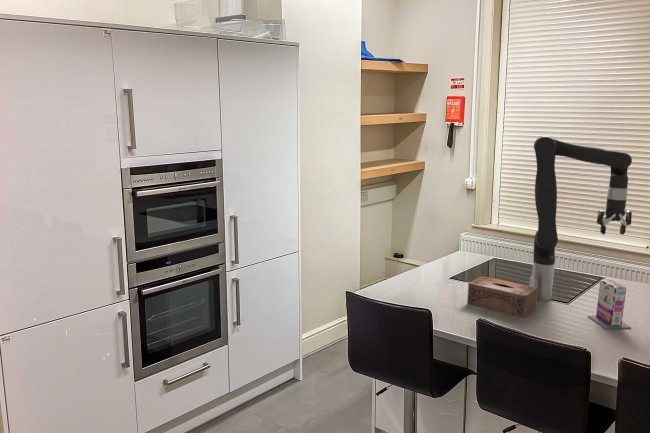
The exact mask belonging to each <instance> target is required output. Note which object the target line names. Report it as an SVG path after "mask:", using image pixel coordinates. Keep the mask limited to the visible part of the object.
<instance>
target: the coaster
mask: <svg viewBox="0 0 650 433" xmlns="http://www.w3.org/2000/svg"><path fill="white" fill-rule="evenodd" d="M587 318H589V319H590V320H592V321H593V322H594V323H596V324H597V325H598V326H600V327H601V328H602V329H604V330H631V329H632V326H629V325H628V324H627V323H625V322H624V321H622V325H621V326H610V325H608V324H607V323H605V322H604V321H602V320H601V319H599V318H598V317H596V315H587Z"/></svg>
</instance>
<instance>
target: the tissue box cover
mask: <svg viewBox="0 0 650 433" xmlns="http://www.w3.org/2000/svg"><path fill="white" fill-rule="evenodd" d="M467 285H468V286H467V302H466V305H470V306H474V307H478V308H482V309H486V310H491V311H494V312H498V313H501V314H502V313H503V314H506V315H511V316H515V317H517V318H518V317H519V318H522V319H525V318H526V317H528V315H530V314H532V313H533V312H534V311H536V309H537V303H538V302H537V301H538V300H537V291H538V288H535V287H531V286H529V285H525V284H521V283H515V282H511V281H508V280H507V281H506V280H504V279H503V280H502V279H498V278H492V277H487V276H484V275H483V276H480V277H478V278H476V279H474V280H472V281H471V282H468V284H467Z"/></svg>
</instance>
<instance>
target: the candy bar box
mask: <svg viewBox="0 0 650 433" xmlns="http://www.w3.org/2000/svg"><path fill="white" fill-rule="evenodd" d="M626 292H627V287H625V286H623V285H621V284H619V283H617V282H616V281H614V280H611V279H600V281H599V288H598V299H597V306H596V314H595V316H596V317H598V318H599V319H601V320H602V321H604V322H605V323H607V324H608V325H610V326H621V325H622V322H623V315H624V308H625V303H626V302H625V300H626V299H625V298H626Z"/></svg>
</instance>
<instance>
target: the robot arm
mask: <svg viewBox="0 0 650 433" xmlns="http://www.w3.org/2000/svg"><path fill="white" fill-rule="evenodd" d="M533 150H534V153H535V161H536V175H535V182H534V200H535V201H534V202H535V209H536V213H537V221H538V223H537V226H538V228H537V231H536V232H535V234H534V241H533V261H532V262H533V263H532V273H531V276H529V285H528V286H531V287H535V288H538V291H537V301H540V302H548V301H551V300H552V293H553V286H554V284H553V283H554V276H555V275H554V274H555V273H554V272H555V262H556V254H555V252H556V246H557V245H558V242H559V236H558V232H557V222H556V221H557V219H556V218H557V208H558V207H557V205H558V188H557V186H558V185H557V176H556V170H555V169H556V167H555V166H556V156H557V157H565V158H570V159H573V160H577V161H581V162H583V163H584V162H585V163H588V164H589V163H590V164H594V165H595V164H596V165H603V166H607V167H610V178H609V184H608V189H607V196H606V203H605V205H606V206H605V208H606V209H605V211H604V210H598V212H597V218H596V224H597V225H600V229H599V232H600V233H601V234H602V235H606V231H607V230H606V229H607V225H608V224H609V223H610V222H619V223H620V227H619V228H620V229H619V234H620V235H625V233H626V231H627V230H626V229H627V226H630V225H632V219H633V218H632V216H633V215H632V214H633V212H632V211H630V210H626V207H627V199H628V184H629V176H628V170H629V169H628V168H629V167H630V166H631V164H632V162H633V159H632V158H633V157H632V156H631V155H630V154H629V153H627V152H625V151H617V150H608V149H606V148H602V147H597V146H591V145H583V144H578V143H577V144H576V143H570V142H565V141H561V140H558V139H556V138H553V137H551V136H548V135H543V136H540V137H538V138H537V139H536V140H535V141H534V144H533ZM625 210H626V211H625ZM604 216H605V217H604ZM624 216H625V218H624Z"/></svg>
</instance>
